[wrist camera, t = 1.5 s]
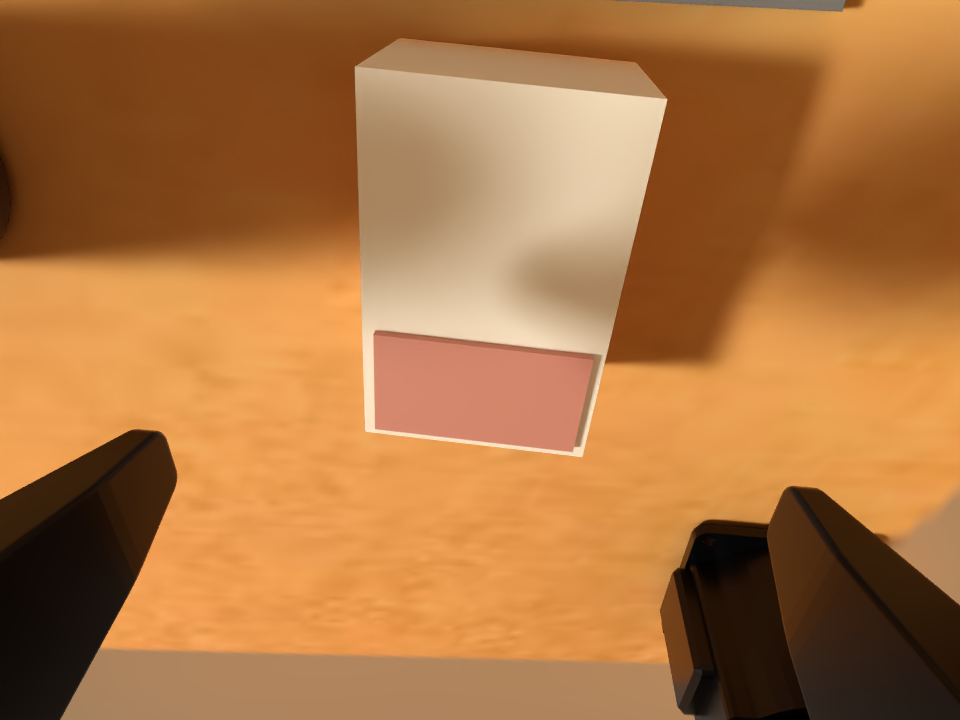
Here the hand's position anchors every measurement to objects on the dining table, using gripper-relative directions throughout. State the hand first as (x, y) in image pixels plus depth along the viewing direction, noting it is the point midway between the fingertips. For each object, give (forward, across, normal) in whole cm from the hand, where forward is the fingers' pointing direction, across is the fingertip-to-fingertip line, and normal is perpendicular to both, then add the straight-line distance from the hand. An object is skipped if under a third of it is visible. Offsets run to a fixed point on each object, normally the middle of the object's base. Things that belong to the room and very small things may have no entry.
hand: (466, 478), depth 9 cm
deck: (+10, 0, 0) cm, 10 cm away
